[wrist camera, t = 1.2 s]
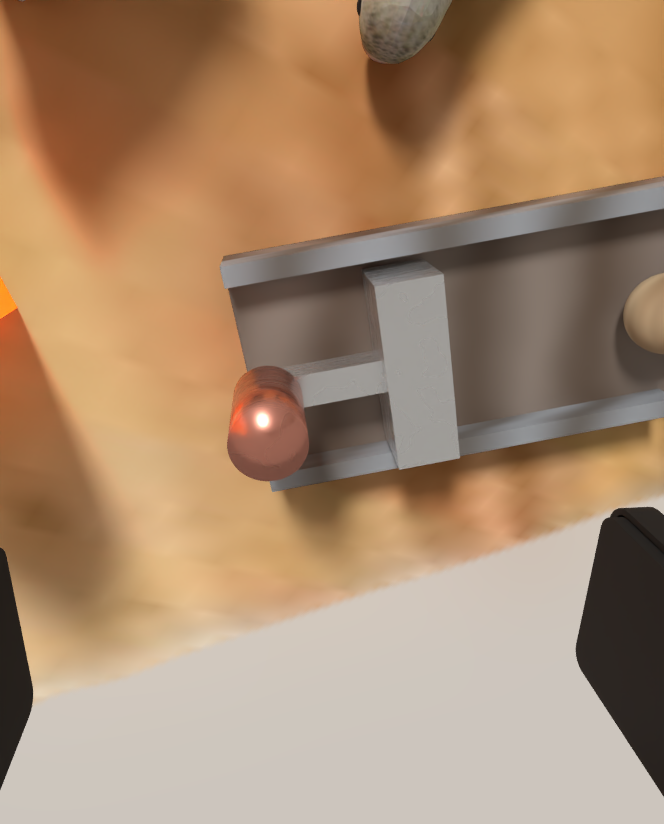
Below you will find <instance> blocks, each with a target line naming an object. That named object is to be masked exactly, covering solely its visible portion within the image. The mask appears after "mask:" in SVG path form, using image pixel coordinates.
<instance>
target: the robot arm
mask: <svg viewBox="0 0 664 824" xmlns="http://www.w3.org/2000/svg"><path fill="white" fill-rule="evenodd" d="M576 657H577V661H578V664H579V667H580V669H581V671H582V672H583V674H584V675H585V677H586V678H587V680H588V681H589V683H590V684H591V686H592V687H593V689H594V691H595V692H596V694H597V695H598V697H599V698H600V700H601V701H602V703H603V704H604V706H605V707H606V709H607V710H608V712H609V714H610V715H611V716H612V718H613V720H614V721H615V723H616V724H617V726H618V727H619V729H620V730H621V732H622V733H623V735H624V736H625V738H626V739H627V741H628V743H629V744H630V746H631V747H632V749H633V750H634V752H635V753H636V755H637V756H638V758H639V759H640V761H641V762H642V764H643V765H644V767H645V769H646V770H647V772H648V773H649V775H650V776H651V778H652V779H653V781H654V782H655V784H656V785H657V787H658V788H659V790H660V791H661V793H662V795H663V796H664V515H663V514H662V513H661V512H660V511H658V510H657V509H655V508H653V507H638V508H618V509H616V510H614V512H613V513H612V514H611V516H610V518H606V519H605V520H604V521H603V523H602V525H601V529H600V534H599V539H598V544H597V548H596V553H595V559H594V563H593V567H592V572H591V577H590V582H589V586H588V591H587V596H586V601H585V605H584V610H583V616H582V620H581V625H580V629H579V634H578V639H577V643H576ZM32 702H33V686H32V681H31V676H30V671H29V666H28V661H27V656H26V651H25V646H24V641H23V636H22V631H21V626H20V621H19V616H18V611H17V606H16V602H15V597H14V592H13V587H12V582H11V577H10V572H9V567H8V562H7V557H6V554H5V551H4V550H3V549H2V548H0V789H1V787H2V784H3V782H4V779H5V776H6V774H7V771H8V769H9V766H10V764H11V761H12V758H13V756H14V754H15V751H16V748H17V746H18V743H19V741H20V738H21V736H22V733H23V731H24V728H25V726H26V723H27V720H28V718H29V715H30V712H31V708H32Z"/></svg>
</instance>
